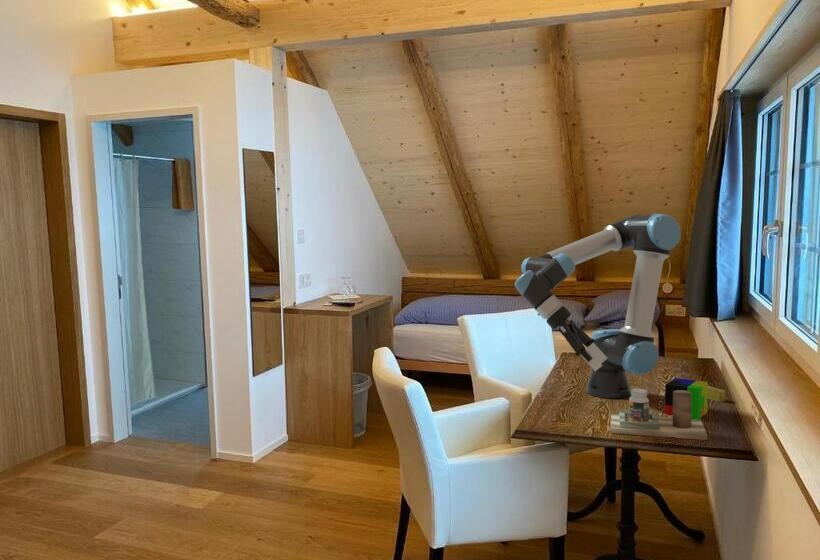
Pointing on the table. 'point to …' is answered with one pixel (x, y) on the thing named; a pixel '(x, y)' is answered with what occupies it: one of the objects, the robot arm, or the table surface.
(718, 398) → the medication box
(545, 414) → the table surface
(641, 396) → the pill bottle
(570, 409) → the table surface
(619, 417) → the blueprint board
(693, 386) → the puzzle toy
